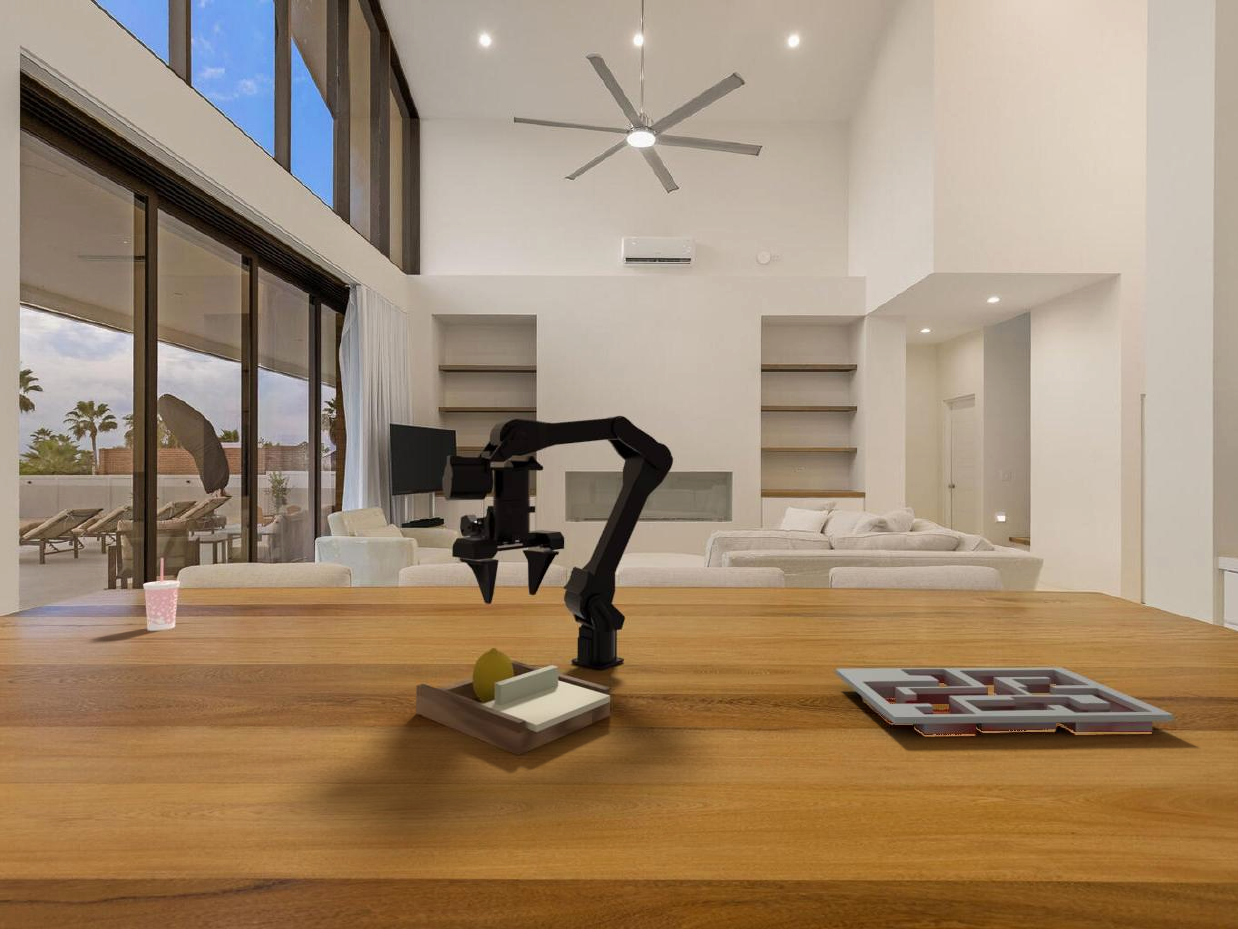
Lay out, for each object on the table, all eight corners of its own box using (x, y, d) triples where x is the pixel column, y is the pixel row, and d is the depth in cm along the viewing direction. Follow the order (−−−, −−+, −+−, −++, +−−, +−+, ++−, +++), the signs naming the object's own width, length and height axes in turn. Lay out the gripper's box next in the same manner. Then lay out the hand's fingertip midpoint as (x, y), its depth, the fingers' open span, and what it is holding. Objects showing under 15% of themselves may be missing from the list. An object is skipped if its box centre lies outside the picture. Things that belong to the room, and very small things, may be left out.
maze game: (1061, 688, 102) (1061, 667, 102) (1173, 740, 82) (1173, 714, 82) (835, 689, 101) (835, 668, 101) (894, 743, 81) (894, 717, 81)
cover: (554, 685, 92) (555, 661, 92) (610, 701, 86) (610, 676, 86) (480, 711, 82) (480, 684, 82) (536, 732, 76) (536, 703, 76)
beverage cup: (166, 631, 131) (166, 560, 131) (134, 631, 131) (135, 559, 131) (186, 624, 137) (187, 556, 137) (157, 624, 137) (157, 555, 137)
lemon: (505, 716, 88) (505, 654, 88) (465, 713, 89) (466, 652, 89) (519, 701, 93) (519, 644, 93) (482, 699, 94) (482, 642, 94)
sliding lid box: (508, 683, 101) (508, 659, 101) (609, 715, 88) (610, 687, 88) (416, 713, 88) (416, 685, 88) (518, 755, 76) (519, 723, 76)
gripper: (520, 496, 117) (520, 585, 117) (430, 499, 103) (429, 601, 103) (566, 498, 110) (566, 593, 110) (476, 502, 96) (476, 611, 96)
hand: (510, 599), depth 105 cm, fingers open, 9 cm apart
